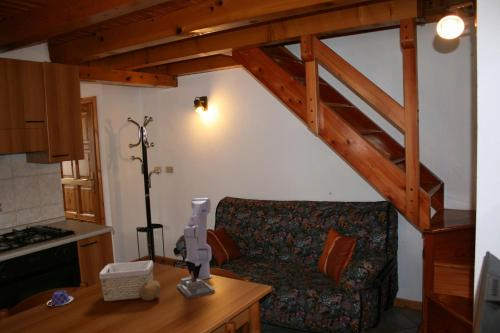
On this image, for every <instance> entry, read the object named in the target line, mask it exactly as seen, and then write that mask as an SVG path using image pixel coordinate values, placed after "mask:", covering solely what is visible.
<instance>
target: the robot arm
mask: <svg viewBox="0 0 500 333" xmlns="http://www.w3.org/2000/svg"><path fill="white" fill-rule="evenodd" d="M190 205H191V208H192V214H191V216H189V219H188V222H187V225H186V226H185V227H184V228H183V237H184V241H185V246H186V247H185V248H186V249H185V250H186V258H185V259H184V262H185V265H186V267H187V270H188V273H189V275H191V271H193V276H194V278H195V279H196V278H199V275H200V276H201V279H203V280H208V279H212V278H213V276H212V275H211V270H210V261H212V255H213V254H212V247H211V245H210V244H208V243H207V231H208V230H207V229H208V228H207V226H208V224H207V223H208V214H210V213H211V199H210V198H209V197H197V198H196V197H195V198H194V197H193V198H192V199H191V202H190Z"/></svg>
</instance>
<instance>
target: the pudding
mask: <svg viewBox="0 0 500 333" xmlns="http://www.w3.org/2000/svg"><path fill="white" fill-rule="evenodd" d="M69 299H70V300H69ZM73 300H74V297H73V296H72V295H70V296H69V295H68V292H67V290H64V289H62V290H61V289H60V290H57V291H54V292H53V294H52V298H51V299H50V300H48V301H47V302H46V306H50V307H53V306H52V304H54V305H55V306H54V307H58V306H59V307H60V306H64V305H66V304H69V303H70V302H72V301H73ZM51 301H52V303H51V305H48V303H49V302H51Z"/></svg>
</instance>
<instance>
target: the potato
mask: <svg viewBox="0 0 500 333" xmlns="http://www.w3.org/2000/svg"><path fill="white" fill-rule="evenodd" d="M161 290H162V288H161V284H160V282H159V281H158V280H153V281H150V282H149V283H147V284H145V285H144V286H143V287H142V288H141V289H140V291H139V295H140V297H141V298H140V299H141V300H143V301H148V302H149V301H153V300H156V298H157V297H159V296H160V295H161V294H160V293H161Z"/></svg>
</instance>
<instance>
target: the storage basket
mask: <svg viewBox="0 0 500 333" xmlns="http://www.w3.org/2000/svg"><path fill="white" fill-rule="evenodd" d="M153 261H154V260H152V259H151V260H141V261H129V262H117V263H116V262H115V263H107V265H105V266H104V267H103V269H102V270H101V271H100V272H99V279H100V282H101V290H102V294H103V300H104V302H113V301H123V300H124V301H125V300H135V299H142V298H141V297H140V295H139V291H140V289H141V288H142V287H143V286H144V285H145V284H147V283H149V282H150V281H154V276H153V274H154V273H153V270H154V269H153V267H154V262H153Z"/></svg>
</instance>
